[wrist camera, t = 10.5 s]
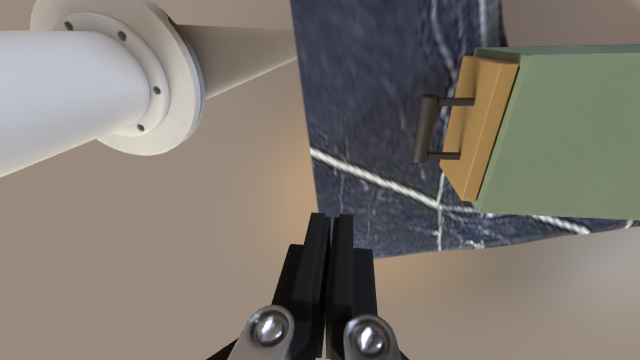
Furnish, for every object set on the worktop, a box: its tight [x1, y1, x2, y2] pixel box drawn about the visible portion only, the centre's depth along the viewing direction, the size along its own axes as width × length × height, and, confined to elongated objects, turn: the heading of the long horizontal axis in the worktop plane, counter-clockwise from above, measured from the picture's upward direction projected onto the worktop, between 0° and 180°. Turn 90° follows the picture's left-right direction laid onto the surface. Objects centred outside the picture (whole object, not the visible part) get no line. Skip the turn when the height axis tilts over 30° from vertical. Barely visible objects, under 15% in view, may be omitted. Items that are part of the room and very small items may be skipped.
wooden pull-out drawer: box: [411, 55, 520, 201], centre depth 24 cm, size 18×11×7 cm, turn 91°
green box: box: [471, 44, 640, 220], centre depth 23 cm, size 15×13×9 cm
